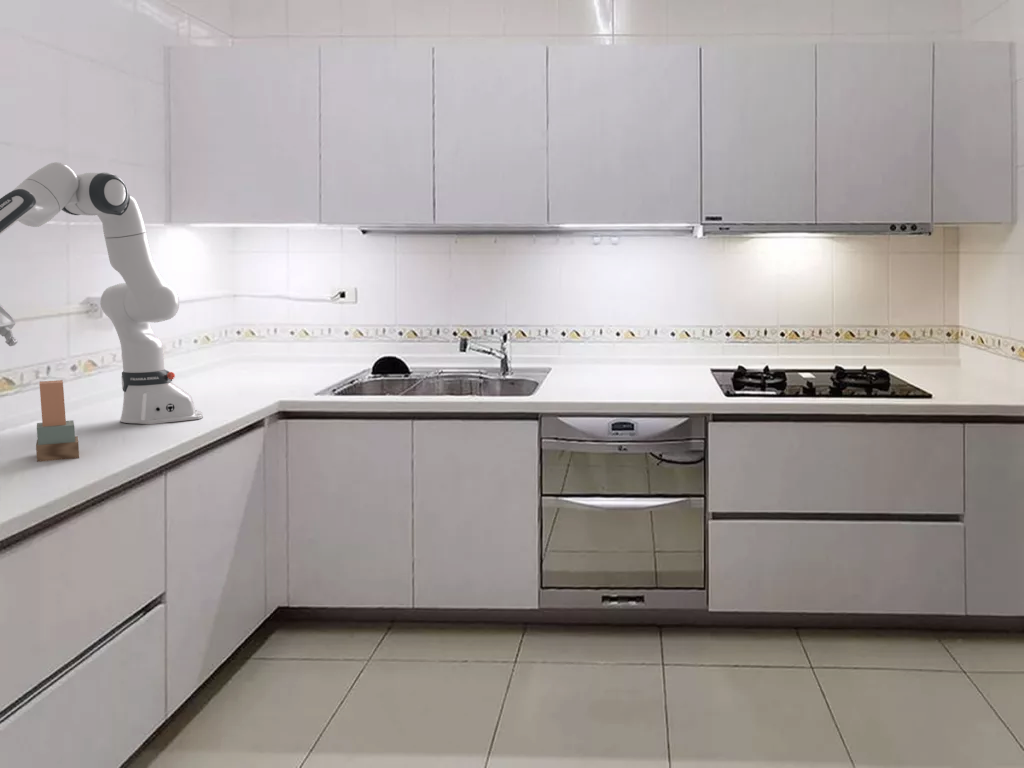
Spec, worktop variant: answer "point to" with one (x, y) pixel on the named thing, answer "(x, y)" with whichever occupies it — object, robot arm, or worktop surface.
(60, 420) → the pillar
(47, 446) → the tower base
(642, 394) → the worktop surface
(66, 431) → the tower top
